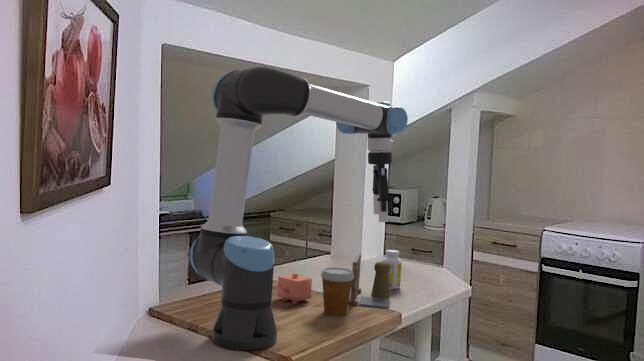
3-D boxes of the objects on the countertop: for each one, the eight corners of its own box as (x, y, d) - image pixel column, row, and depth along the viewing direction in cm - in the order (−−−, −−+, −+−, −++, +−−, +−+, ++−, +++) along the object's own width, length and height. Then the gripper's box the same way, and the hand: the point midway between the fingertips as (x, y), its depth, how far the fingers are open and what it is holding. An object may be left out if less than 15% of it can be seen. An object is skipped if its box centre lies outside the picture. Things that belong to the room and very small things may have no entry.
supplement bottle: (396, 285, 188) (398, 249, 187) (402, 289, 181) (405, 252, 181) (378, 284, 186) (380, 248, 186) (384, 289, 180) (386, 252, 179)
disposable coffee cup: (312, 310, 150) (314, 268, 150) (338, 306, 156) (341, 266, 156) (331, 319, 143) (334, 275, 142) (358, 315, 148) (361, 272, 148)
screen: (347, 304, 158) (349, 262, 157) (352, 290, 176) (354, 252, 175) (357, 305, 157) (359, 262, 157) (361, 291, 175) (363, 252, 175)
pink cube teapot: (269, 301, 157) (271, 274, 156) (295, 294, 166) (297, 269, 166) (289, 307, 152) (291, 279, 152) (314, 299, 162) (316, 273, 161)
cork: (377, 292, 176) (380, 259, 175) (393, 296, 172) (395, 262, 171) (367, 295, 171) (369, 261, 171) (383, 299, 167) (385, 264, 167)
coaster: (358, 305, 158) (359, 303, 158) (360, 298, 167) (361, 296, 167) (388, 308, 157) (389, 306, 157) (389, 300, 166) (389, 298, 166)
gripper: (398, 153, 153) (398, 224, 156) (386, 149, 178) (386, 211, 180) (372, 153, 153) (373, 225, 155) (363, 149, 178) (364, 211, 180)
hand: (380, 218), depth 168 cm, fingers open, 13 cm apart
